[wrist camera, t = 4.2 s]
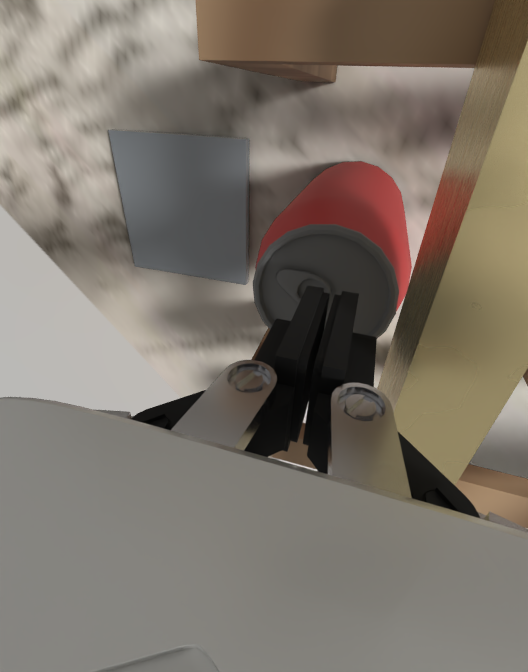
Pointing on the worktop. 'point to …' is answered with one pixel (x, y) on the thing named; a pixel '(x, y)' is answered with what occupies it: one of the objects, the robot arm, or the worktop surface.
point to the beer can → (338, 247)
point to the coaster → (185, 202)
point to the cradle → (321, 66)
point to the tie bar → (470, 266)
